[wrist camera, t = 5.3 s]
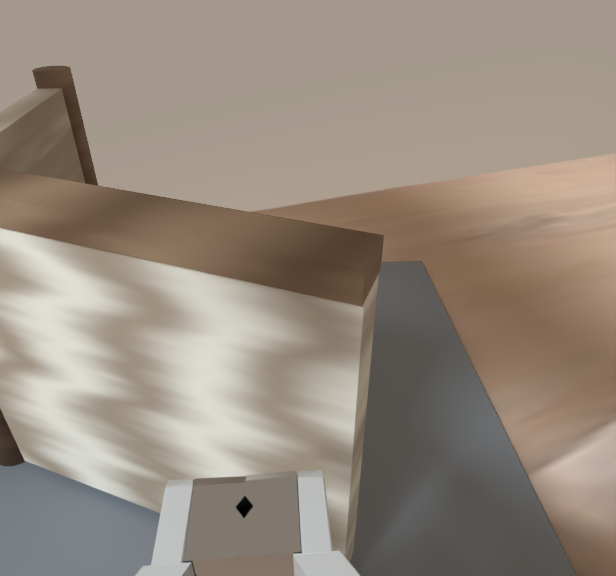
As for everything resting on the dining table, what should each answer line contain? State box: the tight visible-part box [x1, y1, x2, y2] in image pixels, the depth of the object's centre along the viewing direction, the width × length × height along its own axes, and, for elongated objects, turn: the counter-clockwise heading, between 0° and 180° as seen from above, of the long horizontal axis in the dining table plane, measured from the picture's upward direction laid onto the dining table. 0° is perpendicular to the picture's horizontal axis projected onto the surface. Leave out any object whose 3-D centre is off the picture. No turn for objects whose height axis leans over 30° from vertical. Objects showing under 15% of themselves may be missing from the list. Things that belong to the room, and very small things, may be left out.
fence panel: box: [0, 169, 384, 562], centre depth 21 cm, size 18×2×16 cm, turn 69°
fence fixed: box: [0, 66, 98, 466], centre depth 33 cm, size 2×21×17 cm, turn 4°
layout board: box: [0, 261, 576, 576], centre depth 32 cm, size 32×34×1 cm
